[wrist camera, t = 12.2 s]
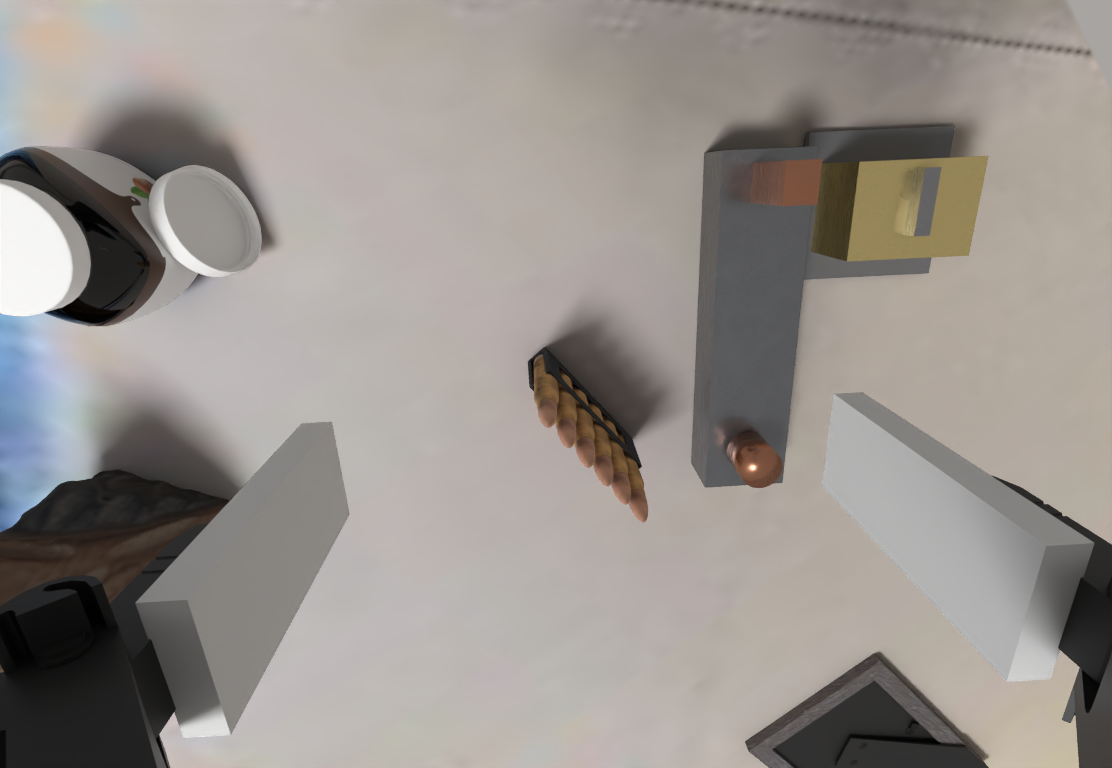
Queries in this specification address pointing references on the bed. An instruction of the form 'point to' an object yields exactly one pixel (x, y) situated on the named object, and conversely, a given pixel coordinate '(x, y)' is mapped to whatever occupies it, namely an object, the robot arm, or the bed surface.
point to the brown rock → (98, 531)
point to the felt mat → (872, 149)
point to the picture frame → (862, 728)
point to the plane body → (749, 309)
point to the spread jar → (113, 234)
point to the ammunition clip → (587, 430)
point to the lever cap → (898, 208)
